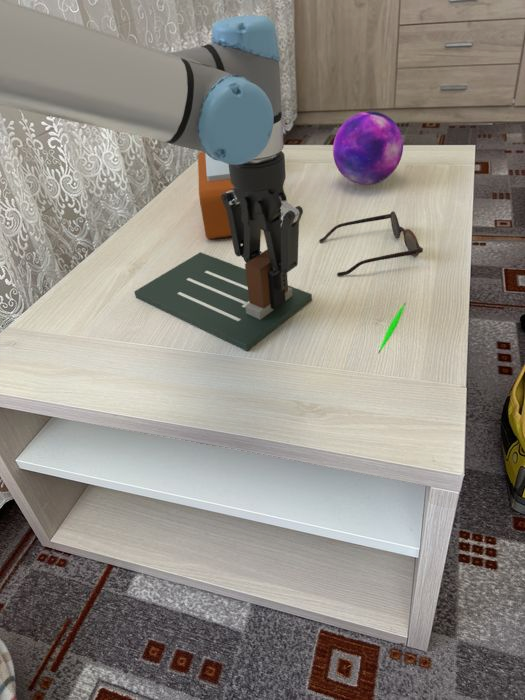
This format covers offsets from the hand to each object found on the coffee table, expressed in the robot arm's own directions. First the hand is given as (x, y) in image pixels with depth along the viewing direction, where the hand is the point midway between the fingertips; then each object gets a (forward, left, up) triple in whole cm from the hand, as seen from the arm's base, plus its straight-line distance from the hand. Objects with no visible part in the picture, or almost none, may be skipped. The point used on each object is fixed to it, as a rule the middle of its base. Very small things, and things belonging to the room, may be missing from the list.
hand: (269, 300), depth 87 cm
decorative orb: (-14, +51, -2) cm, 53 cm away
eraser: (0, 0, -1) cm, 1 cm away
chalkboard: (-9, -2, -2) cm, 10 cm away
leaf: (+18, +7, -3) cm, 20 cm away
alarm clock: (-31, +22, -2) cm, 38 cm away
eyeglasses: (+3, +24, -2) cm, 24 cm away
